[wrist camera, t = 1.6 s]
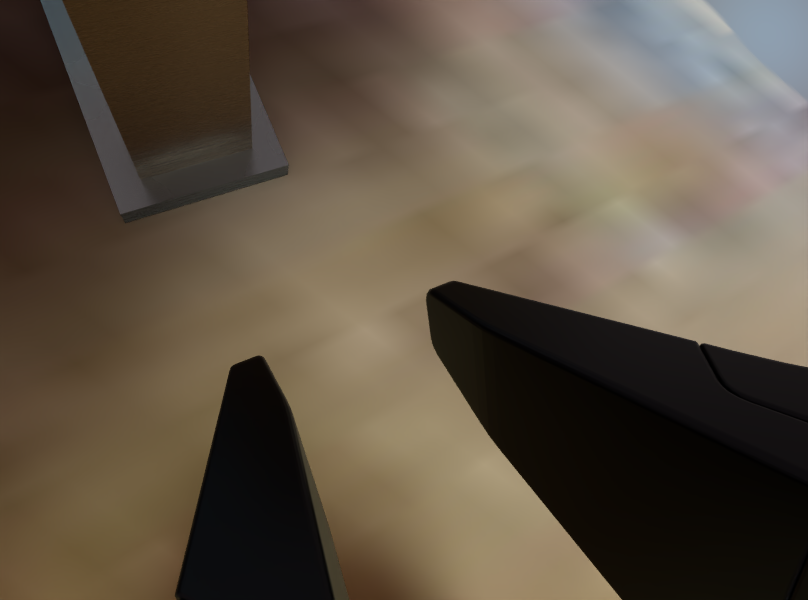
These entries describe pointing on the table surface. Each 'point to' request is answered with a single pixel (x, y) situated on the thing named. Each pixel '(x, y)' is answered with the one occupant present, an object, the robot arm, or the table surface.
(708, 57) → the table surface
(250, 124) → the sweeper
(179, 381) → the table surface
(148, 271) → the table surface
